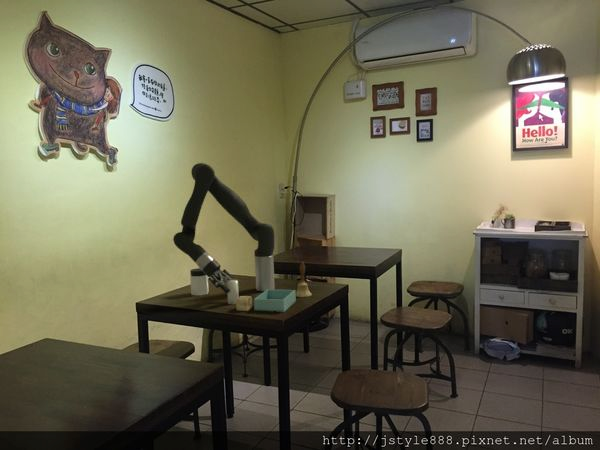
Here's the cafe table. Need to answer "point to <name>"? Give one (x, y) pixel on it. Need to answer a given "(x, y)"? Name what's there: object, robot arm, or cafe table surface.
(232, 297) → the cylinder
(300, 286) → the hand bell
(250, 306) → the cube
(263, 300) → the tote
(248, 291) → the cafe table surface
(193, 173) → the robot arm
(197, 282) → the jar
